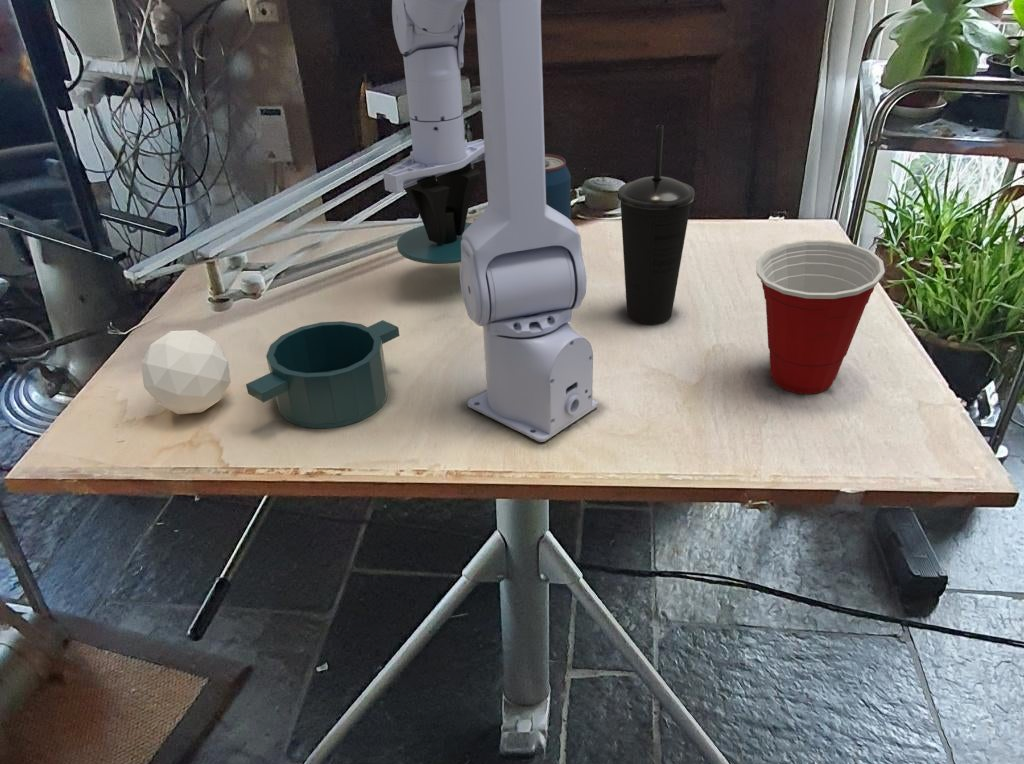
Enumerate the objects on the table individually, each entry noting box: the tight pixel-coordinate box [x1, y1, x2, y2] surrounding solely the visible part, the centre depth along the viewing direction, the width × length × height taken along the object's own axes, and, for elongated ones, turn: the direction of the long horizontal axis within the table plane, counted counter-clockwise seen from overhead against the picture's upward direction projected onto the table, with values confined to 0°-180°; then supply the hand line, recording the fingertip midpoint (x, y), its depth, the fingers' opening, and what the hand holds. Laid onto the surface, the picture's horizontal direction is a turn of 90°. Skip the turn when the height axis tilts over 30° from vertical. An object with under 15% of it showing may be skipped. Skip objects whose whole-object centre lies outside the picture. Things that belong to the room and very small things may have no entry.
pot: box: [245, 319, 400, 429], centre depth 84 cm, size 10×16×6 cm, turn 137°
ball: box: [141, 329, 232, 415], centre depth 83 cm, size 8×8×8 cm
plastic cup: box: [755, 239, 886, 395], centre depth 81 cm, size 11×11×12 cm
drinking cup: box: [617, 124, 696, 325], centre depth 91 cm, size 8×8×20 cm
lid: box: [396, 207, 473, 265], centre depth 102 cm, size 11×11×5 cm
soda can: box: [545, 153, 572, 221], centre depth 107 cm, size 7×7×12 cm
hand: (446, 237), depth 102 cm, fingers closed on lid, 2 cm apart
